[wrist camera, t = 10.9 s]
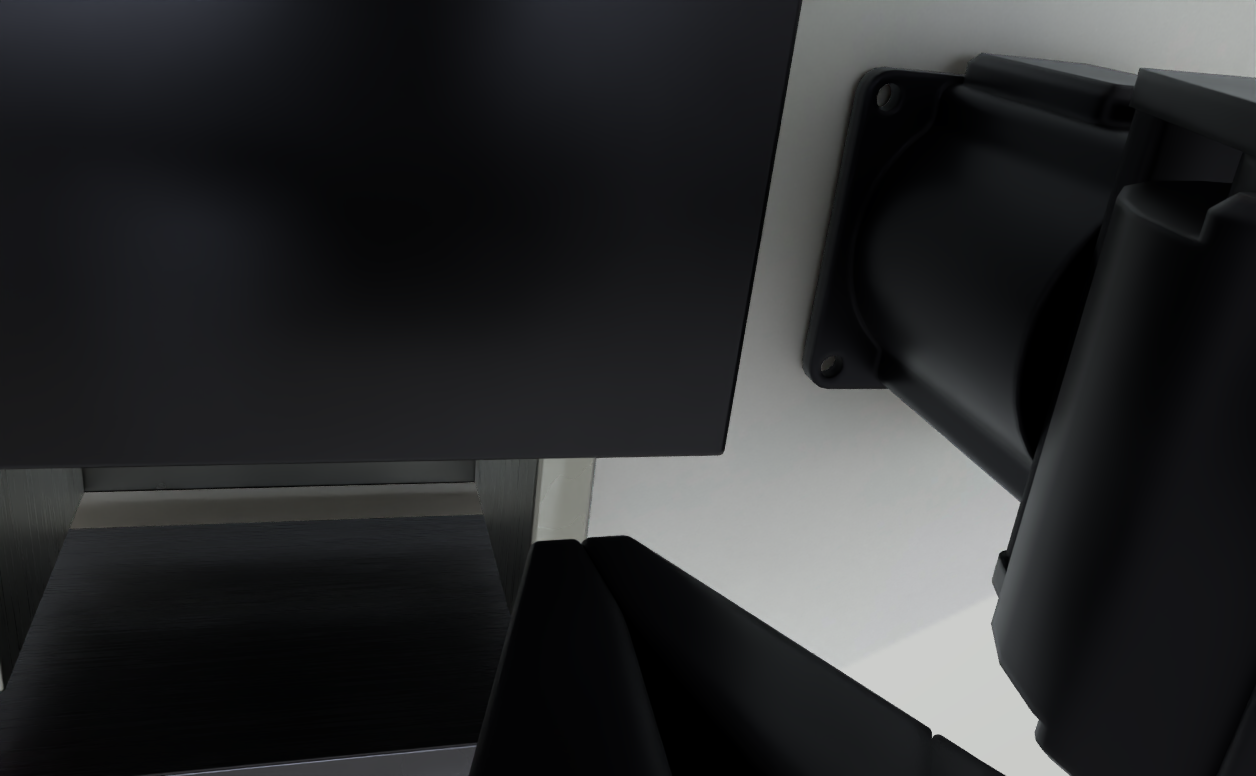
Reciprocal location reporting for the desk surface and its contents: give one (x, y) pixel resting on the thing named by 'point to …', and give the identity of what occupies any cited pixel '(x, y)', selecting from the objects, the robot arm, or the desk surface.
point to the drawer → (264, 623)
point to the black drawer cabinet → (379, 227)
